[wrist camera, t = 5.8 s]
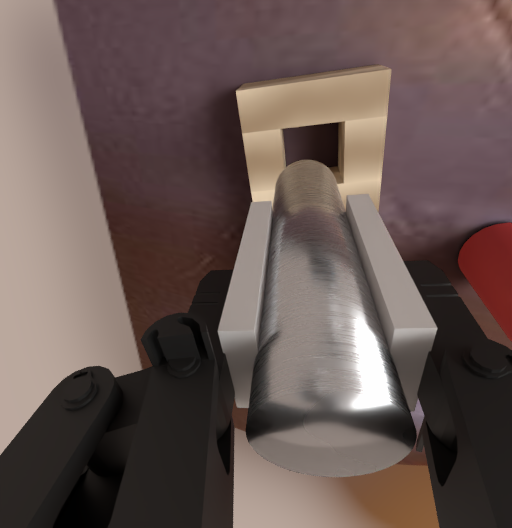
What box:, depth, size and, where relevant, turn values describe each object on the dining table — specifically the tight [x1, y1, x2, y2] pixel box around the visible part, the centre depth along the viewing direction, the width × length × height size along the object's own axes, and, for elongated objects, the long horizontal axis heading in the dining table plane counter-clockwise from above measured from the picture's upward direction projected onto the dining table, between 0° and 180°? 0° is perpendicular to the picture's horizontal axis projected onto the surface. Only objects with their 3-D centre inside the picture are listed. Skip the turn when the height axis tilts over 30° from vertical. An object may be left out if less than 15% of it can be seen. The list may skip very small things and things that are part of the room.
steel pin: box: [246, 160, 417, 477], centre depth 11 cm, size 3×3×12 cm
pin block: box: [236, 64, 391, 211], centre depth 28 cm, size 20×10×4 cm, turn 8°
